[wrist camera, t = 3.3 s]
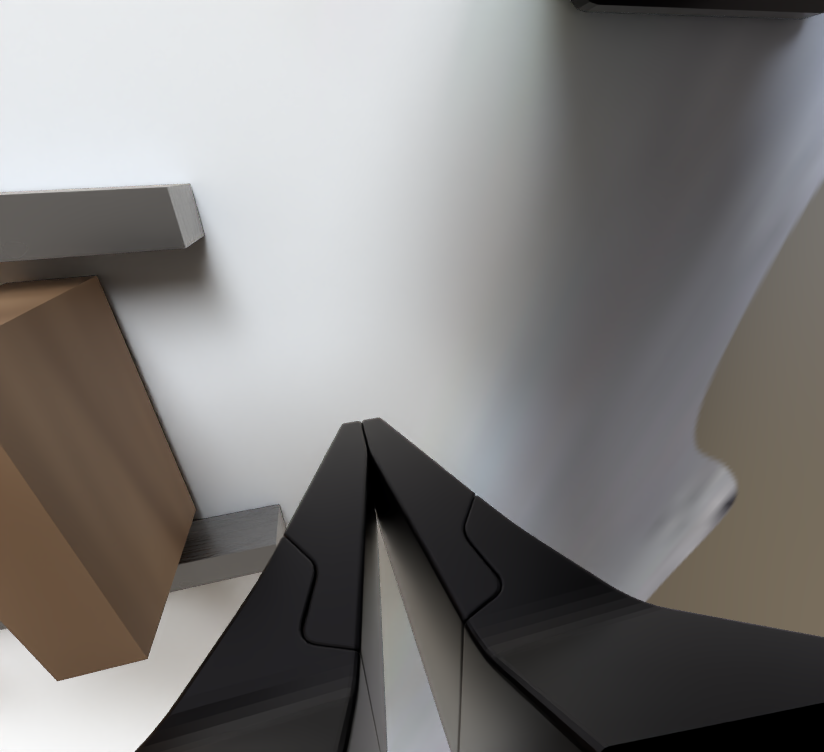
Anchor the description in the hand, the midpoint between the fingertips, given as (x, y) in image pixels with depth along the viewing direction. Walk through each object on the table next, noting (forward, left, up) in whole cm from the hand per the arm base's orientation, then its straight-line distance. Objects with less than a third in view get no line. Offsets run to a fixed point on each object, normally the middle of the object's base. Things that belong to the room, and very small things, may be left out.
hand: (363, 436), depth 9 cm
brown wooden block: (+6, 0, -2) cm, 6 cm away
